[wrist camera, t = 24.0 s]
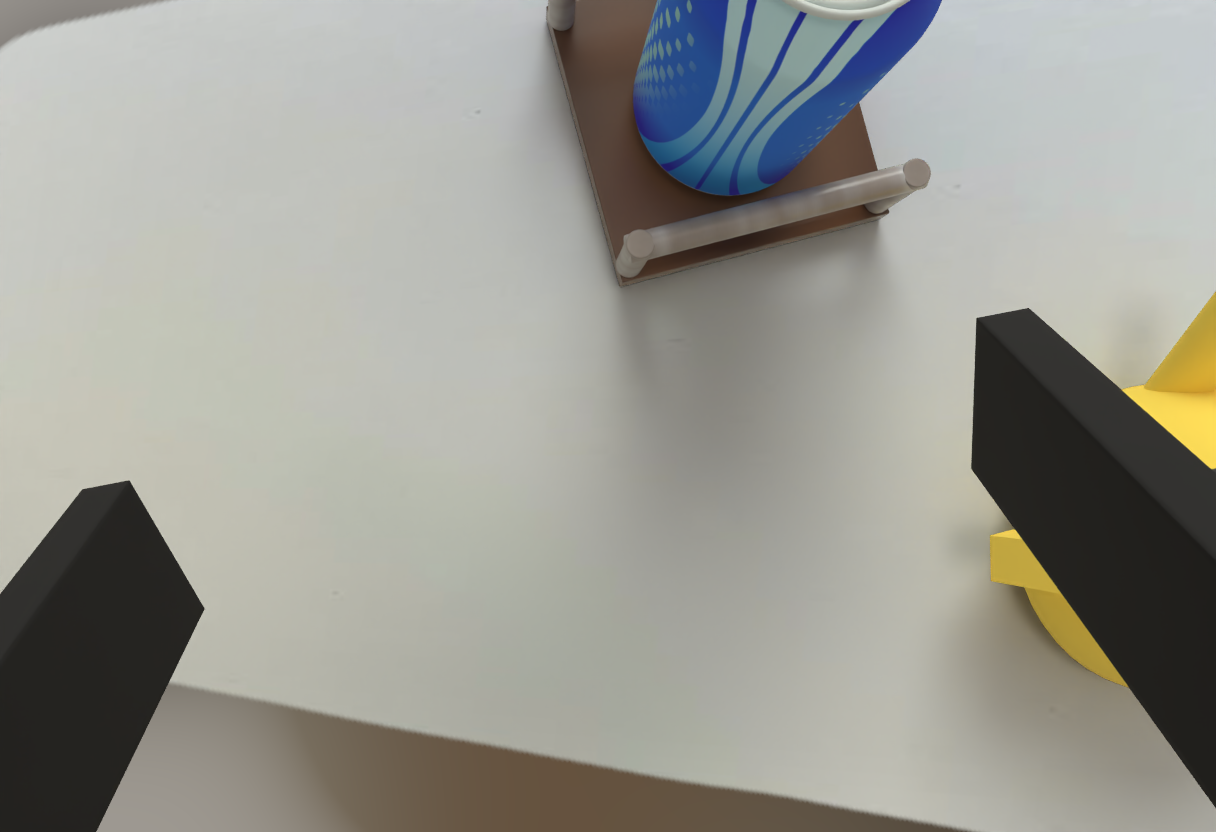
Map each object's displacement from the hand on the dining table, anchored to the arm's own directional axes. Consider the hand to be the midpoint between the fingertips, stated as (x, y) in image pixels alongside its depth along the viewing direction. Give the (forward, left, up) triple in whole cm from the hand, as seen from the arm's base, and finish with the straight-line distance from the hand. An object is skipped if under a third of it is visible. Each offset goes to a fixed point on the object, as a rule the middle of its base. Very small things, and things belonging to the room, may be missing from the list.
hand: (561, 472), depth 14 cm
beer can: (-6, +16, -26) cm, 31 cm away
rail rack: (-7, +16, -27) cm, 32 cm away
